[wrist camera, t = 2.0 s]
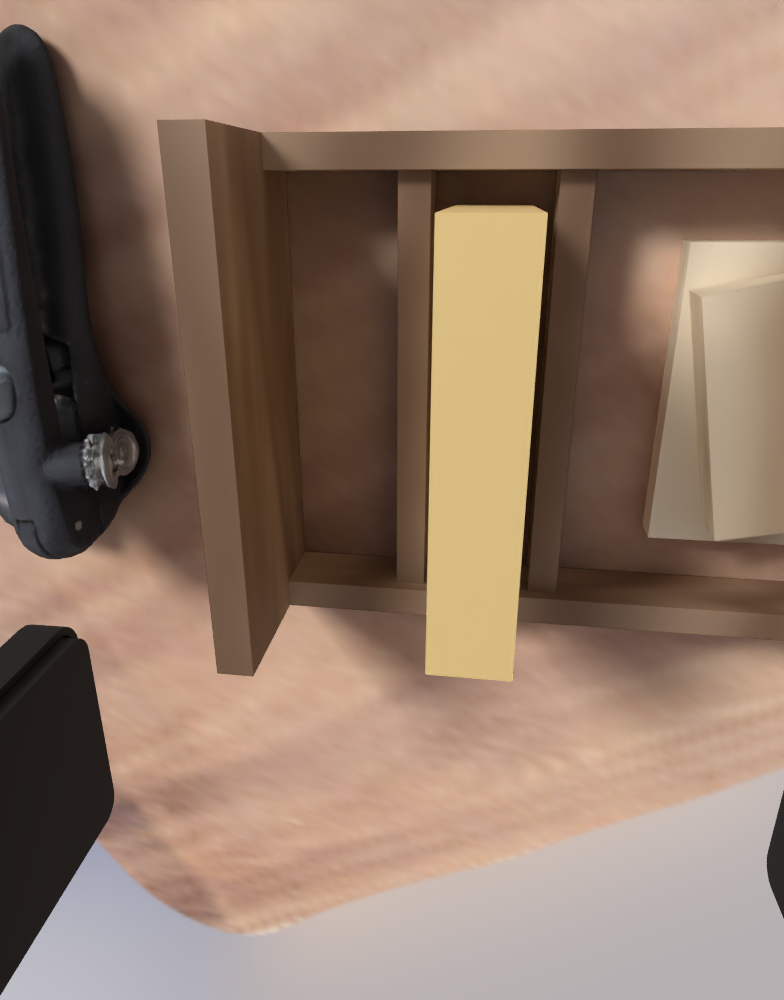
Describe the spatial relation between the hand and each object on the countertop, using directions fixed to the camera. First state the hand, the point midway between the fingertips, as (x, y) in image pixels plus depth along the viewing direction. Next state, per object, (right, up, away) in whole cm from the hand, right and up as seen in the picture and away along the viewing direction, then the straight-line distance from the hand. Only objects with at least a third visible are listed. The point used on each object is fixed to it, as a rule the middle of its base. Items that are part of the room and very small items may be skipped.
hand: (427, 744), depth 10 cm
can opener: (-13, +11, +18) cm, 24 cm away
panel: (+3, +7, +17) cm, 18 cm away
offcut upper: (+12, +7, +14) cm, 20 cm away
